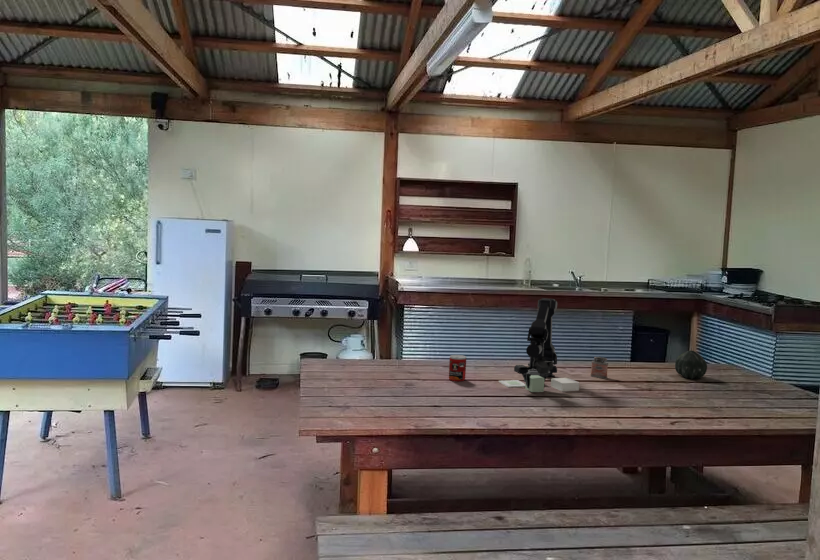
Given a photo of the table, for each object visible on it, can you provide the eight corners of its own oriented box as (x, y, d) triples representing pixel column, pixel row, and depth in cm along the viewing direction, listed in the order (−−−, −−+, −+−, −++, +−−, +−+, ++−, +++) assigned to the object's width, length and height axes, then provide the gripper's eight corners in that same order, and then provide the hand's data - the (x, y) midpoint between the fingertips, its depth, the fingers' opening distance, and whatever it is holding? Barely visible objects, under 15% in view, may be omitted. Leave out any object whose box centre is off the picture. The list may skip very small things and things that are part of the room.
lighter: (589, 376, 318) (591, 356, 317) (591, 375, 321) (592, 355, 320) (606, 378, 314) (607, 358, 313) (607, 377, 317) (609, 357, 316)
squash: (695, 362, 336) (682, 342, 331) (717, 370, 321) (704, 349, 317) (677, 381, 333) (663, 360, 329) (698, 389, 319) (684, 368, 315)
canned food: (446, 380, 297) (447, 356, 296) (451, 376, 304) (452, 353, 303) (462, 382, 294) (463, 358, 293) (467, 378, 301) (468, 355, 300)
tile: (498, 381, 298) (498, 380, 298) (517, 381, 301) (518, 379, 301) (508, 387, 288) (508, 385, 288) (528, 386, 291) (528, 385, 291)
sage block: (525, 388, 288) (526, 375, 287) (537, 388, 289) (537, 375, 289) (531, 392, 282) (532, 378, 281) (543, 391, 284) (544, 378, 283)
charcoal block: (523, 381, 302) (524, 368, 301) (535, 380, 304) (535, 368, 303) (529, 384, 296) (530, 371, 296) (541, 384, 298) (542, 371, 297)
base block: (550, 387, 294) (551, 378, 294) (567, 386, 297) (568, 377, 297) (561, 392, 286) (562, 383, 285) (578, 391, 289) (579, 382, 289)
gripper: (526, 357, 274) (524, 393, 275) (564, 356, 279) (562, 391, 281) (514, 352, 284) (512, 386, 286) (551, 351, 290) (549, 385, 291)
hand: (534, 387), depth 286 cm, fingers closed on sage block, 6 cm apart
